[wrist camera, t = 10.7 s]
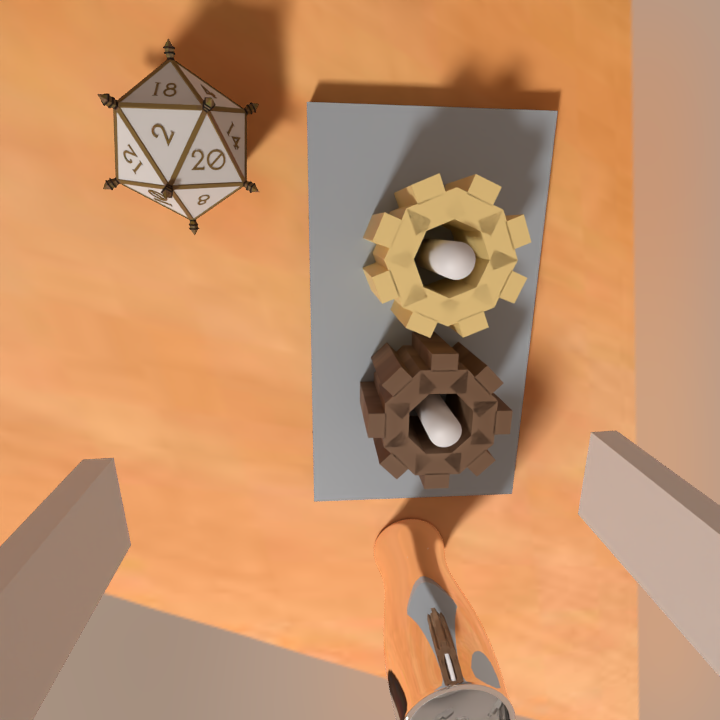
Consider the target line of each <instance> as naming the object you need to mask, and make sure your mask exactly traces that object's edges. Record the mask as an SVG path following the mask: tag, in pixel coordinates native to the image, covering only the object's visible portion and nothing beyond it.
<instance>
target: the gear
mask: <svg viewBox="0 0 720 720" xmlns="http://www.w3.org/2000/svg"><path fill="white" fill-rule="evenodd" d="M500 190H501V186H499V185H497V184H495V183H493V182H491V181H489V180H487V179H485V178H483V177H481V176H479V175H477V174H474V175H471V176H469V177H466V178H463V179H460V180H457V181H454V182H451V183H448V184H446V185H445V187H444V185H443V182H442V179H441V176H440V173H439V174H436V175H434V176H432V177H429V178H427V179H425V180H422V181H420V182H417V183H415V184H413V185H410V186H408V187H406V188H404V189H401V190H399V191H397V192H395V193H394V195H395V198H396V201H397V204H398V206H399V208H398V209H395V210H393V211H391V212H390V213H389V214H387V213H385V212H383V213H379V214H374V215H372V217H371V219H370V222H369V224H368V226H367V229H366V231H365V234H364V236H363V238H364V239H366V240H368V241H370V242H373V243H375V244H376V246H375V248H374V251H373V256H374V259H375V261H376V262H375V263H373V264H371V265H368V266H366V267H363V268H362V269H363V271H364V274H365V276H366V279H367V281H368V284H369V286H370V289H371V291H372V292H373V293H374V294H375V295H376V297H377V298H378V299H379V300H380V302H381V303H382V304H383V303H386V302H388V301H390V300H393V299H394V302H393V304H392V307H391V309H390V310H391V311H392V312H393V314H394V315H395V316H396V317H397V318H398V319H399V321H400V322H401V323H402V324H403V325H404V326H405V328H407V329H410V330H412V331H415V332H417V333H420V334H422V335H424V336H427V337H429V338H431V335H432V333H433V331H434V329H435V327H436V325H437V323H441V324H443V325H445V326H449V327H450V328H451V329H453V330H454V331H455V332H457V333H458V334H459V335H461V336H462V337H463V338H464V337H466V336H469V335H471V334H474V333H476V332H478V331H481V330H483V329H486V328H488V327H489V326H488V323H487V320H486V317H485V314H484V311H487V310H489V309H492V308H494V307H495V305H496V303H497V301H498V299H499V298H501V299H504V300H507V301H509V302H512V303H515V301H516V299H517V297H518V295H519V293H520V291H521V289H522V288H523V286H524V284H525V282H526V280H527V277H525V276H522V275H520V274H518V273H516V272H514V271H513V269H514V267H515V265H516V263H517V261H518V259H517V255H516V252H515V249H516V248H519V247H521V246H524V245H526V244H528V243H531V239H530V235H529V231H528V228H527V224H526V220H525V217H524V214H522V215H505V213H504V210H503V209H501V208H499V207H497V206H495V205H493V204H494V202H495V200H496V198H497V196H498V194H499V192H500ZM439 225H440V226H442V227H444V228H447V229H449V230H451V232H452V235H453V238H454V241H457V242H463V243H466V244H468V245H469V246H470V247H471V248H472V249H473V251H474V253H475V258H476V260H475V266H474V268H473V270H472V272H471V273H470V274H469V275H468V276H467V277H465V278H463V279H459V280H453V279H449V278H447V277H445V278H443V279H441V280H438V281H436V282H433V283H431V284H428V285H424V284H422V281H421V279H420V276H419V273H418V270H417V267H416V264H415V262H414V258H415V256H416V253H417V251H418V249H419V247H420V244H421V242H422V240H423V238H424V235H425V233H426V231H427V230H430V229H432V228H434V227H437V226H439Z"/></svg>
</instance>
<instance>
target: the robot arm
mask: <svg viewBox="0 0 720 720" xmlns="http://www.w3.org/2000/svg"><path fill="white" fill-rule="evenodd" d="M578 515H579V516H580V517H581V518H582V519H583V520H584V521H585V523H586V524H587V525H588V526H589V527H590V528H591V529H592V531H593V532H594V533H595V534H596V535H597V536H598V537H599V539H600V540H601V541H602V542H603V543H604V544H605V546H606V547H607V548H608V549H609V550H610V551H611V552H612V554H613V555H614V556H615V557H616V558H617V559H618V560H619V562H620V563H621V564H622V565H623V566H624V567H625V568H626V570H627V571H628V572H629V573H630V574H631V575H632V577H633V578H634V579H635V580H636V581H637V582H638V583H639V585H640V586H641V587H642V588H643V589H644V590H645V591H646V593H647V594H648V595H649V596H650V597H651V598H652V599H653V601H654V602H655V603H656V604H657V605H658V606H659V608H660V609H661V610H662V611H663V612H664V613H665V614H666V616H667V617H668V618H669V619H670V620H671V621H672V622H673V624H674V625H675V626H676V627H677V628H678V629H679V631H680V632H681V633H682V634H683V635H684V636H685V637H686V639H687V640H688V641H689V642H690V643H691V644H692V645H693V647H694V648H695V649H696V650H697V651H698V652H699V653H700V655H701V656H702V657H703V658H704V659H705V660H706V662H707V663H708V664H709V665H710V666H711V667H712V668H713V670H714V671H715V672H716V673H717V674H718V675H719V676H720V505H718V504H717V503H716V502H714V501H713V500H711V499H710V498H708V497H707V496H706V495H704V494H703V493H702V492H700V491H699V490H697V489H696V488H695V487H693V486H692V485H691V484H689V483H688V482H686V481H685V480H684V479H682V478H681V477H680V476H678V475H677V474H675V473H674V472H673V471H671V470H670V469H669V468H667V467H666V466H664V465H663V464H662V463H660V462H659V461H658V460H656V459H655V458H653V457H652V456H650V455H649V454H648V453H646V452H645V451H644V450H642V449H641V448H640V447H638V446H637V445H635V444H634V443H633V442H631V441H630V440H629V439H627V438H626V437H624V436H623V435H622V434H620V433H619V432H617V431H604V432H591V436H590V442H589V448H588V455H587V461H586V467H585V474H584V480H583V486H582V493H581V499H580V505H579V511H578ZM130 546H131V543H130V538H129V533H128V528H127V523H126V518H125V513H124V508H123V503H122V498H121V493H120V488H119V483H118V478H117V473H116V468H115V463H114V458H103V459H84V460H82V461H81V462H80V463H79V464H78V465H77V466H76V467H75V469H74V470H73V471H72V472H71V473H70V474H69V475H68V476H67V477H66V478H65V479H64V480H63V481H62V482H61V483H60V484H59V485H58V486H57V487H56V489H55V490H54V491H53V492H52V493H51V494H50V495H49V496H48V497H47V498H46V499H45V500H44V501H43V502H42V503H41V504H40V505H39V506H38V507H37V509H36V510H35V511H34V512H33V513H32V514H31V515H30V516H29V517H28V518H27V519H26V520H25V521H24V522H23V523H22V524H21V525H20V526H19V527H18V528H17V530H16V531H15V532H14V533H13V534H12V535H11V536H10V537H9V538H8V539H7V540H6V541H5V542H4V543H3V544H2V545H1V546H0V720H33V719H34V717H35V715H36V713H37V711H38V710H39V708H40V706H41V704H42V703H43V701H44V699H45V697H46V695H47V694H48V692H49V690H50V688H51V686H52V685H53V683H54V681H55V679H56V678H57V676H58V674H59V672H60V670H61V668H62V667H63V665H64V663H65V662H66V660H67V658H68V656H69V654H70V653H71V651H72V649H73V647H74V646H75V644H76V642H77V640H78V638H79V637H80V635H81V633H82V631H83V629H84V628H85V626H86V624H87V622H88V620H89V619H90V617H91V615H92V613H93V612H94V610H95V608H96V606H97V605H98V603H99V601H100V599H101V597H102V595H103V594H104V592H105V590H106V588H107V587H108V585H109V583H110V581H111V580H112V578H113V576H114V574H115V572H116V571H117V569H118V567H119V565H120V564H121V562H122V560H123V558H124V556H125V555H126V553H127V551H128V549H129V547H130Z"/></svg>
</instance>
